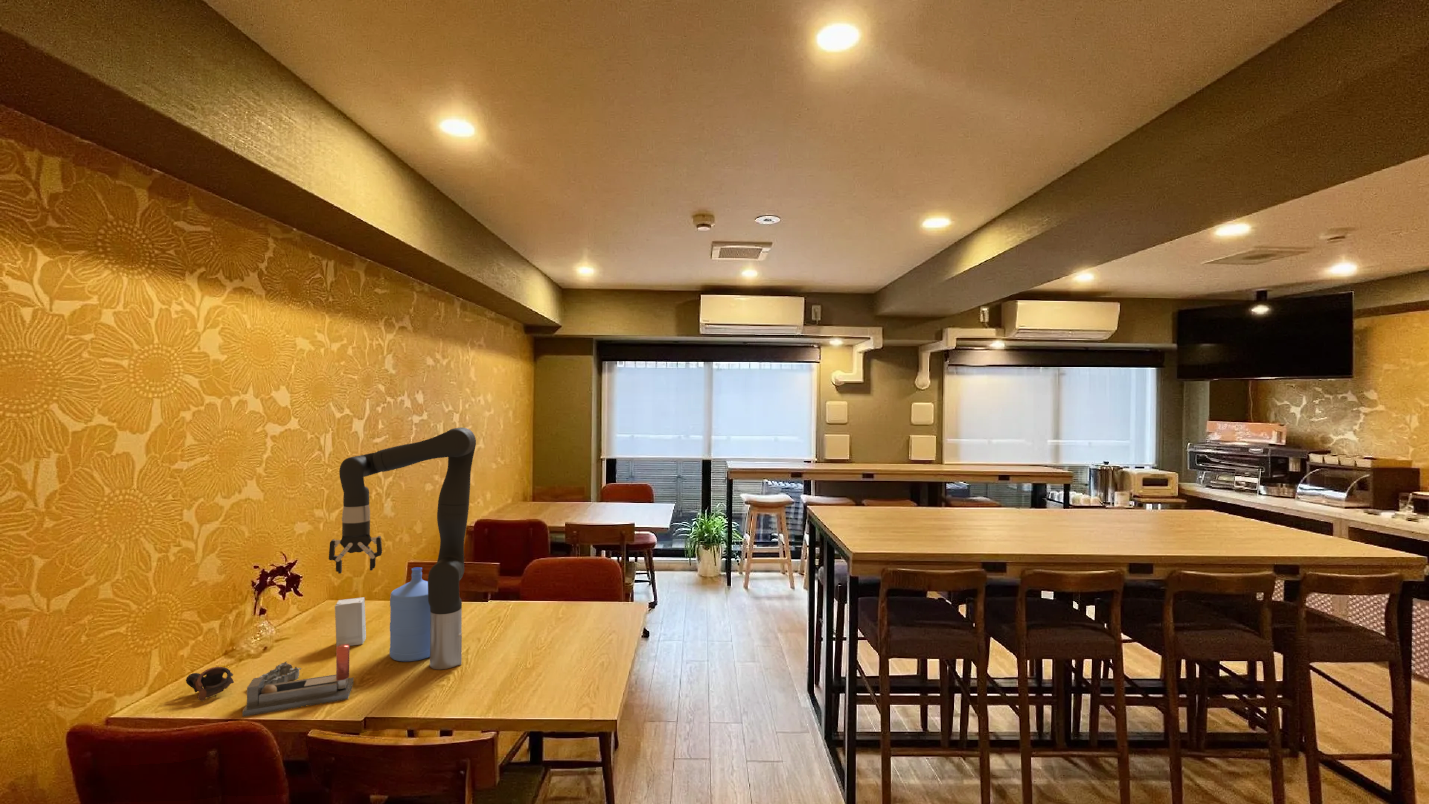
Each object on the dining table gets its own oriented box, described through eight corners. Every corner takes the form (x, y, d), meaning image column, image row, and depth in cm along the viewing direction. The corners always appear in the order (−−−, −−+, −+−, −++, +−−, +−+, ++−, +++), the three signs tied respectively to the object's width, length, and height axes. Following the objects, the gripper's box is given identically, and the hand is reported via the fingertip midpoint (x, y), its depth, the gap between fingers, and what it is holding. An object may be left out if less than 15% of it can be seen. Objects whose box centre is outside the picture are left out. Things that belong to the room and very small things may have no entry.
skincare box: (366, 638, 212) (366, 596, 212) (362, 645, 206) (363, 601, 206) (338, 641, 209) (339, 598, 209) (334, 648, 203) (334, 604, 203)
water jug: (421, 664, 192) (421, 576, 192) (378, 660, 195) (378, 573, 195) (451, 645, 207) (452, 563, 207) (411, 641, 210) (412, 561, 210)
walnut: (278, 694, 169) (278, 681, 169) (275, 700, 165) (275, 686, 165) (262, 696, 167) (262, 683, 167) (259, 702, 164) (259, 689, 164)
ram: (350, 681, 176) (350, 642, 176) (348, 687, 172) (348, 647, 172) (307, 688, 171) (307, 648, 171) (303, 694, 168) (304, 653, 168)
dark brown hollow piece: (241, 684, 178) (241, 665, 175) (220, 713, 170) (220, 694, 167) (195, 677, 176) (195, 658, 173) (172, 706, 167) (171, 686, 164)
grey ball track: (353, 682, 179) (353, 660, 179) (347, 699, 169) (348, 676, 169) (254, 697, 169) (254, 674, 169) (242, 716, 159) (242, 692, 159)
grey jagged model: (287, 673, 185) (287, 660, 185) (304, 677, 183) (304, 664, 183) (249, 688, 175) (250, 674, 175) (267, 693, 173) (267, 679, 173)
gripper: (383, 516, 196) (382, 566, 196) (331, 519, 190) (331, 570, 190) (380, 520, 189) (380, 572, 189) (327, 523, 183) (327, 577, 183)
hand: (355, 571), depth 189 cm, fingers open, 8 cm apart
